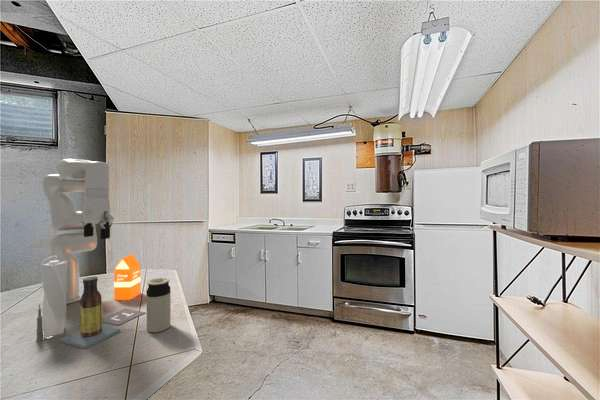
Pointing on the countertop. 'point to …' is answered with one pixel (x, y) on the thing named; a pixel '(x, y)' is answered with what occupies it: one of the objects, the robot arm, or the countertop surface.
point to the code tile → (122, 316)
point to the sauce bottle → (90, 308)
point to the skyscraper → (52, 300)
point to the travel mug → (158, 305)
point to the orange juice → (127, 279)
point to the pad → (89, 337)
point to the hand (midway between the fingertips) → (96, 237)
